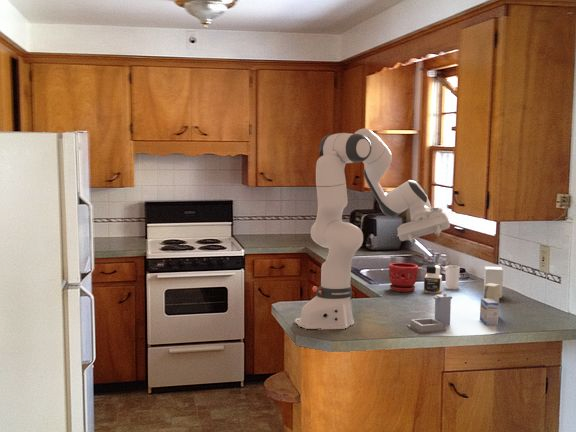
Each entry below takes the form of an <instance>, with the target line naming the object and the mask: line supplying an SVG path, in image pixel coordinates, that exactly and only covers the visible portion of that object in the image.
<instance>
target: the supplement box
mask: <svg viewBox="0 0 576 432" xmlns="http://www.w3.org/2000/svg"><path fill="white" fill-rule="evenodd" d="M483 270H484V271H483V272H484V273H483V274H484V275H483V286H484V285H486V284H488V283H494V284H499V285H500V288H499V299H500V298H503V281H504V280H503V278H504V277H503V275H504V274H503V273H504V269H503V267H501V266H484V269H483Z"/></svg>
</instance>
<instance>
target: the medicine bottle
mask: <svg viewBox="0 0 576 432" xmlns="http://www.w3.org/2000/svg"><path fill="white" fill-rule="evenodd" d="M442 282H443V275H441V266H440V265H438V264H429V265H427V266H426V274H425V276H424V279H423V284H424V285H423V292H424V293H428V294H429V293H431V294H440V293H441V292H442V290H443V288H442V287H443V284H442Z"/></svg>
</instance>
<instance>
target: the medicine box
mask: <svg viewBox="0 0 576 432" xmlns="http://www.w3.org/2000/svg"><path fill="white" fill-rule="evenodd" d="M499 309H500V302H499V303H497V302H496V301H494V300H493V299H490V298H484V297H483V298H480V308H479V311H480V312H479V321H480V322H481V323H483V324H485V326H499V316H498V310H499Z"/></svg>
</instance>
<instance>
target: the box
mask: <svg viewBox="0 0 576 432" xmlns="http://www.w3.org/2000/svg"><path fill="white" fill-rule="evenodd" d="M499 288H500V285H499V284H494V283H488V284H486V285H484V284H483V298H490V299H493V300H494V301H496V302H497V303H499V304H500V298H499ZM499 316H500V313H499V310H498V317H499Z"/></svg>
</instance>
